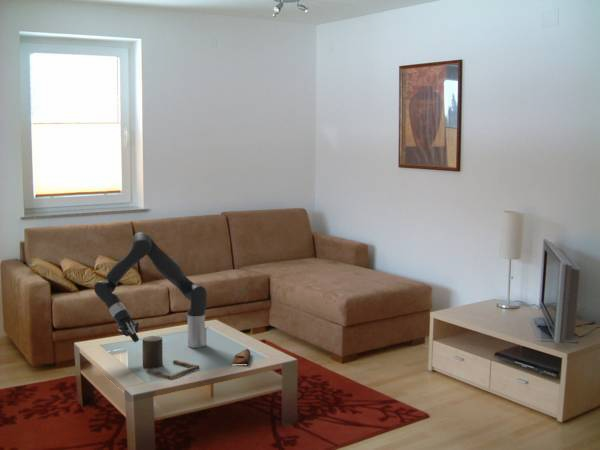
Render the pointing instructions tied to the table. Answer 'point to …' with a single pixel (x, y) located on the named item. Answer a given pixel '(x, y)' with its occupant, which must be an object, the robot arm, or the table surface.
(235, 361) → the sunglasses case
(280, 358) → the table surface
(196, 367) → the wooden u-shaped frame
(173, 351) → the table surface
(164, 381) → the table surface
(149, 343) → the pillar candle
